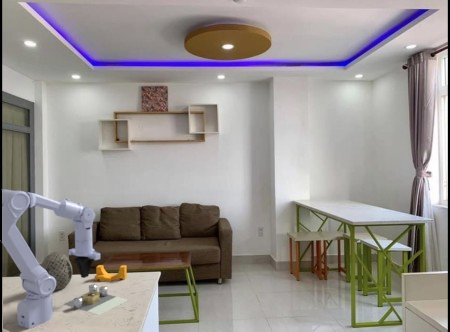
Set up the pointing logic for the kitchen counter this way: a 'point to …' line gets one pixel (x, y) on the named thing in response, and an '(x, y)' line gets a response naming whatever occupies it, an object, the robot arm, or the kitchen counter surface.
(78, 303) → the cylinder
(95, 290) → the cylinder
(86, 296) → the brass nut
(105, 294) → the cylinder
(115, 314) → the kitchen counter surface
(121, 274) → the pipe clamp
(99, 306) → the board
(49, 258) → the decorative egg
